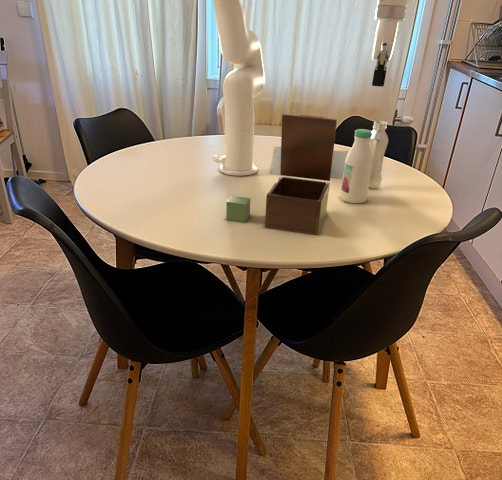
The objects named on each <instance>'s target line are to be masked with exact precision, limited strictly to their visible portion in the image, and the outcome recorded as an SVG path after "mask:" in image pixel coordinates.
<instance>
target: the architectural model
mask: <svg viewBox="0 0 502 480" xmlns="http://www.w3.org/2000/svg"><path fill="white" fill-rule="evenodd" d="M348 153H349V152H348V151H340V150H334V151H333V160H332V169H331V178H334V179H343V174H344V168H345V162H346V158H347V155H348ZM280 164H281V146H280V147H277V146H276V148H275V154H274V157H273V163H272V168H271V172H270V173H271V174H276V175H280Z"/></svg>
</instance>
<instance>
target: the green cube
mask: <svg viewBox="0 0 502 480" xmlns="http://www.w3.org/2000/svg"><path fill="white" fill-rule="evenodd" d="M225 211H226V215H225V217H226V221H230V222H231V221H232V222H238V223H239V222H241V223H245V222H246V221H247V220H248V218H249V217H250V216H251V215H250V214H251V197H245V196H239V195H231V196H230V198H228V199H227V201H226V210H225Z"/></svg>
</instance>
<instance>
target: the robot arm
mask: <svg viewBox="0 0 502 480" xmlns="http://www.w3.org/2000/svg"><path fill="white" fill-rule="evenodd" d="M212 3H213V4H212V5H213V9H214V13H215V14H214V15H215V20H216V28H217V34H218V35H217V36H218V41H219V47H220V53H221V56H222V58H223V60H224V61H225V62H226V63H228V64H229V65H234V66H235V69H234V70H232V71H230V72H228V74H227V75H226V77H225V78H224V80H223V84H222V95H223V96H222V97H223V102H224V155H222V156H220V155H216V154H214V155H212V156H213V157H212V160H213V162H214V163H215V164H220V165H219V171H220V172H221V173H223V174H225V175H228V176H229V175H230V176H237V177H241V176H243V177H244V176H252V175H254V174H256V173H257V172H258V167H257V166H256V165H255V164H254V144H255V143H254V142H255V105H254V98H257V97H259V96H260V95H261V94H262V92H263V91H264V89H265V86H266V75H265V68H264V60H263V53H262V45H261V42H260V39H259V37H258V36H257V34H256V32H254V31H253V30H251V29H249V28H247V23H246V15H245V9H244V6H243V3H242V0H212ZM376 3H377V4H376V9H375V16H374V20H376V21H377V20H378V22H377V25H376V30H375V36H374V42H373V49H372V55H371V61H372V62H374V61H375V60H376V63H375V67H374V70H373V75H372V76H373V77H372V82H371V85H372V86H373V87H379V88H380V87H382V88H383V87H384V86H385V81H386V77H387V68H388V66H387V64H388V63H389V62H390V61H391V58H392V55H393V51H394V48H395V43H396V37H397V33H398V27H399V23H400V22H404V21H405V15H406V9H407V5H408V0H377V2H376Z"/></svg>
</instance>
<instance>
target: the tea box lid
mask: <svg viewBox="0 0 502 480" xmlns="http://www.w3.org/2000/svg"><path fill="white" fill-rule="evenodd" d="M337 123H338V118H337V119H336V118H328V117H327V118H326V117H324V116H319V115H310V114H309V115H308V114H307V115H306V114H300V115H294V114H285V113H282V115H281V135H280V137H281V139H280V148H281V164H280V174H279V175H280V176H282V177H290V178H298V179H306V180H314V181H323V182H330V181H331V178H332V177H331V169H332V160H333V151H335V150H334V149H335V141H336V132H337Z"/></svg>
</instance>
